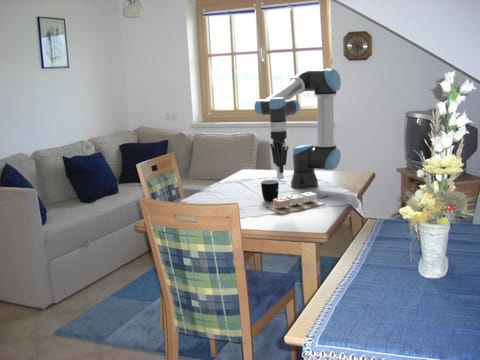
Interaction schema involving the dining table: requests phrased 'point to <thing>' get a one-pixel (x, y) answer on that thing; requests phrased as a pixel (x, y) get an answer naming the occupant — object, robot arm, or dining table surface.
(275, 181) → the mug
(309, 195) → the tile
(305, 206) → the board
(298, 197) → the tile
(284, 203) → the pink square block
